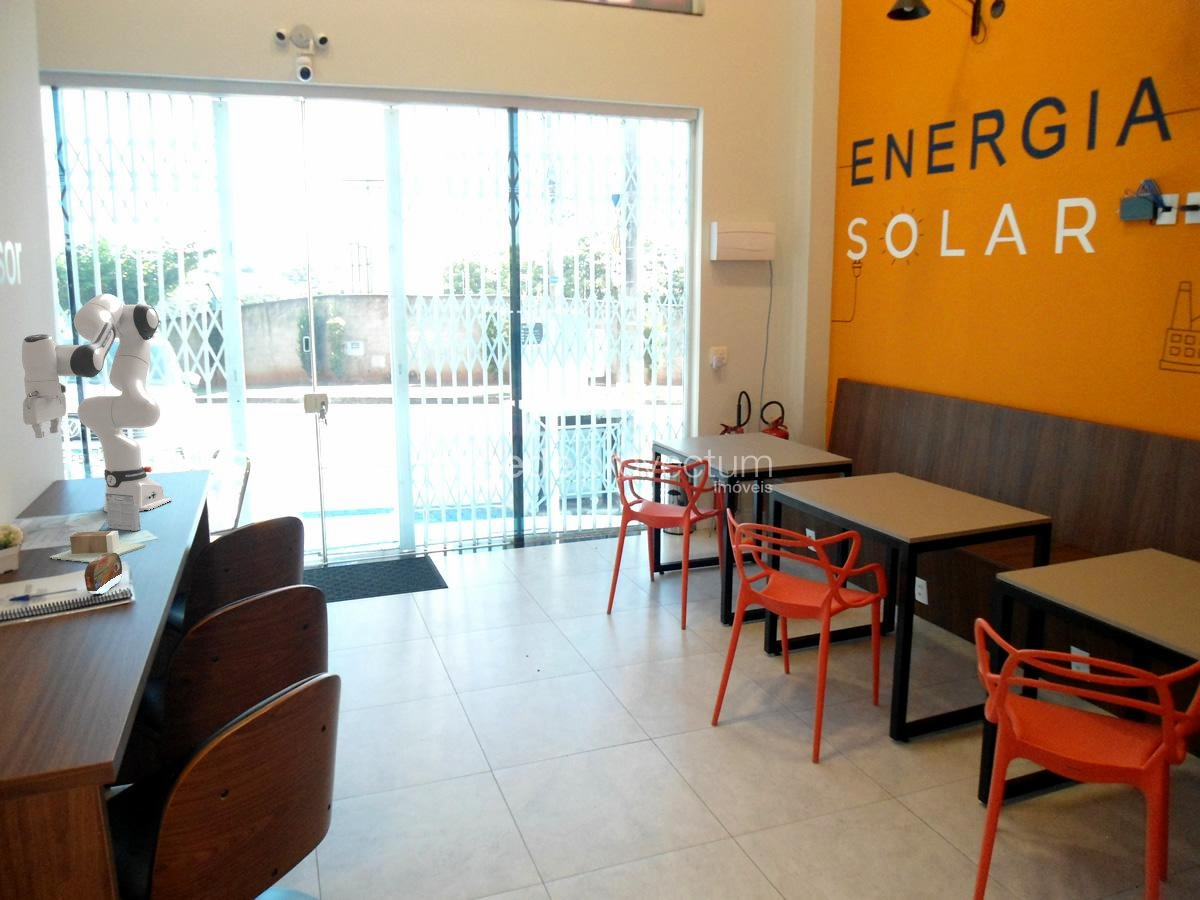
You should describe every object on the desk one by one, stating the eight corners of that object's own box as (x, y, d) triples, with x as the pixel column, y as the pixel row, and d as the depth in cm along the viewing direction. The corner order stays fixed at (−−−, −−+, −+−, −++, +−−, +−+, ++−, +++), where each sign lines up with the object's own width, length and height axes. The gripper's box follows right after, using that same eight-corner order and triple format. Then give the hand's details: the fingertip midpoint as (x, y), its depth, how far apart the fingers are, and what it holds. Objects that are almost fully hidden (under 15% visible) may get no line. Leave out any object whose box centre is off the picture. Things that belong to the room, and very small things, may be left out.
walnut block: (77, 532, 258) (118, 530, 259) (78, 548, 259) (119, 547, 260) (69, 536, 253) (111, 535, 255) (71, 553, 254) (113, 552, 255)
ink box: (141, 530, 282) (138, 494, 280) (135, 531, 280) (132, 495, 278) (113, 526, 285) (110, 491, 283) (107, 528, 283) (104, 493, 281)
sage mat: (101, 541, 268) (101, 540, 268) (145, 546, 263) (145, 544, 263) (49, 558, 251) (49, 556, 251) (95, 563, 246) (95, 561, 246)
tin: (97, 599, 219) (94, 566, 217) (83, 599, 219) (80, 566, 217) (124, 579, 234) (121, 548, 232) (111, 579, 233) (109, 548, 232)
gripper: (38, 393, 257) (42, 440, 260) (68, 386, 277) (72, 430, 280) (14, 393, 257) (19, 441, 259) (46, 386, 276) (50, 430, 279)
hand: (47, 435), depth 270 cm, fingers open, 8 cm apart
